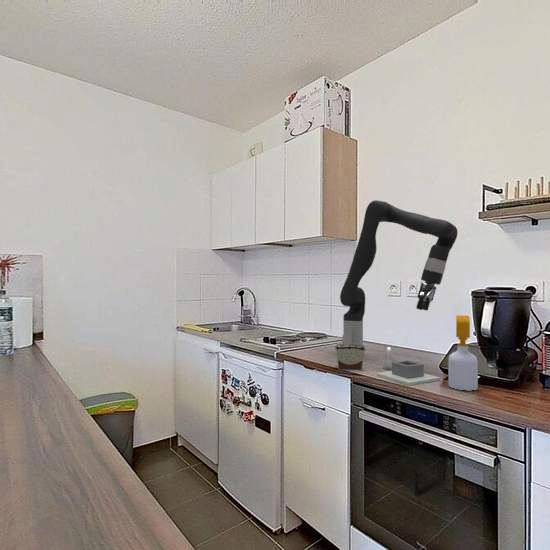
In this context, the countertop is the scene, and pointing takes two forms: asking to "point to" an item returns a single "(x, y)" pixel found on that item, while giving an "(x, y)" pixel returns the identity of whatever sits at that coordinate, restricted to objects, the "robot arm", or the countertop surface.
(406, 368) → the plate
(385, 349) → the steel tube
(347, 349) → the food container
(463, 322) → the soap bottle
